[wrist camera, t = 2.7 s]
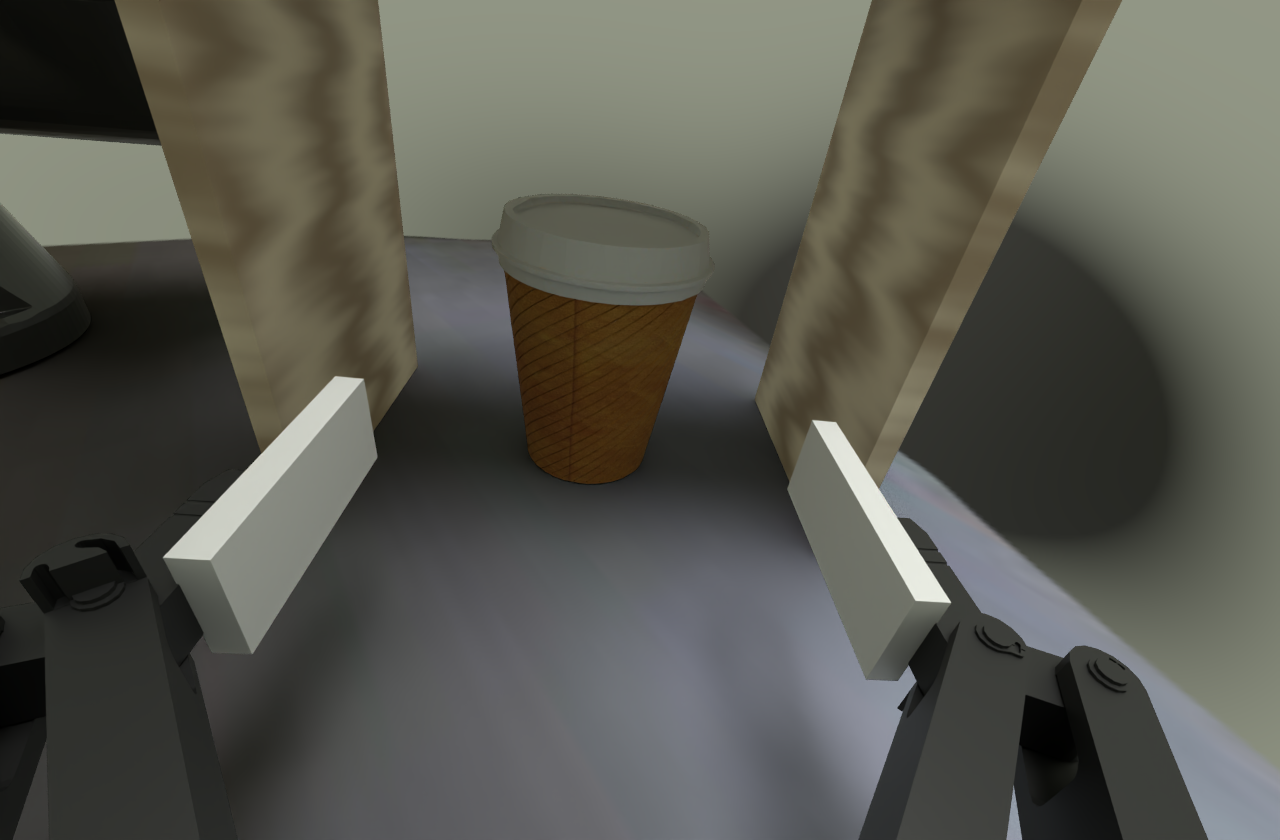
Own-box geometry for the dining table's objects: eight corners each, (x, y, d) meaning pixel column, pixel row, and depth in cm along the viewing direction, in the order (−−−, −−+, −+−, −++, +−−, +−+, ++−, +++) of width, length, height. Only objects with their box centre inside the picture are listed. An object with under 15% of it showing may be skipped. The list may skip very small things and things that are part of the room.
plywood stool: (843, 560, 24) (1219, -196, 11) (283, 523, 21) (-48, -502, 9) (768, 400, 36) (912, -59, 23) (401, 364, 33) (332, -173, 20)
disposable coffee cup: (581, 384, 34) (597, 186, 28) (705, 450, 30) (759, 233, 23) (456, 443, 27) (439, 199, 21) (594, 539, 23) (627, 268, 17)
